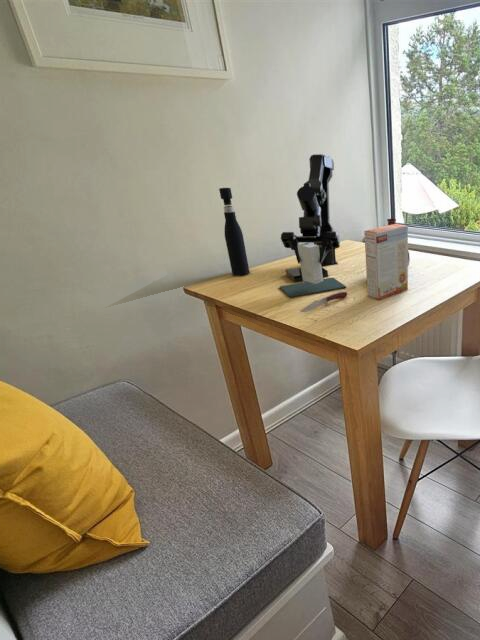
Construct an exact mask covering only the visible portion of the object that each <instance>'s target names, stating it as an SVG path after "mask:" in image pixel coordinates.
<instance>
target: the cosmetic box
mask: <svg viewBox="0 0 480 640" xmlns="http://www.w3.org/2000/svg"><path fill="white" fill-rule="evenodd" d="M298 252H299V258H300V264H299V265H300V266H301V271H302V278H303V281H302V282H309V283H313V284H317V283H320V282H322V281H323V279H324V277H323V276H322V268H323V267H322V265H321V264H320V252H319V245H315V244H314V243H306V242H303V243H301V244H298ZM321 267H322V268H321Z"/></svg>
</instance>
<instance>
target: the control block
mask: <svg viewBox="0 0 480 640" xmlns="http://www.w3.org/2000/svg"><path fill="white" fill-rule="evenodd" d="M321 268H322V276H323V278H329V271H328V270H327V269H326V268H324V267H323V266H321ZM285 275H286V277H288V278H289V279H290V280H291V281H293V283H300V282H304V281H303V278H302V271H301V265H300V266H299V267H293V268H287V269H285Z"/></svg>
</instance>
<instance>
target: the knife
mask: <svg viewBox="0 0 480 640" xmlns="http://www.w3.org/2000/svg"><path fill="white" fill-rule="evenodd" d="M347 295H348V291H346V290H345V291H338V292H337V291H336V292H335V293H331V294H329V295H326V296H324V297H322V298H321V299H319V300H314V301H312V302H311V303H309V304H308V305H306V306H305V307H303V308H301V309H300V310H299V312H300V313H308V312H311V311H313V310H316V309H317V308H319V307H321V306H324V305H325V306H326V307H327V306H328V303H330V302H331V301H334V300H335V301H336V300H344V299H345V298H346V297H347Z"/></svg>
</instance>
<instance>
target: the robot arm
mask: <svg viewBox="0 0 480 640" xmlns="http://www.w3.org/2000/svg"><path fill="white" fill-rule="evenodd" d="M308 160H309V175H308V180H307V181H305V182H304V183H303V186H301V187H300V188H299V189H298V190H297V191H296V196H297V199H298V202H299V205H300V207H301V210H302V211H303V216H299V217H298V228H299V232H300V234H302V235H296V234H295V233H294V231H283V232H281V234H280V240H281V242H282V245H283V246H284V247H283V248H286V249H291V250H292V251H294V254H295V258H296V261H297V264H299V265H300V258H299V252H298V245H300V243H310V244H315V245H319V252H320V264H321V267H326V266H332V265H338V261H336V250H337V249H339V248H341V239H340V236H339V232H338V231H335V229H334V228H333V226H332V224H331V222H330V189H329V187H330V185H329V183H330V181H331V179H332V177H333V171H334V169H335V162H334V159H333V158H332V157H330V156H327V155H325V154H323V153H321V154H319V153H317V154H315V153H314V154H312V155H310V157H309V159H308Z"/></svg>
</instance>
